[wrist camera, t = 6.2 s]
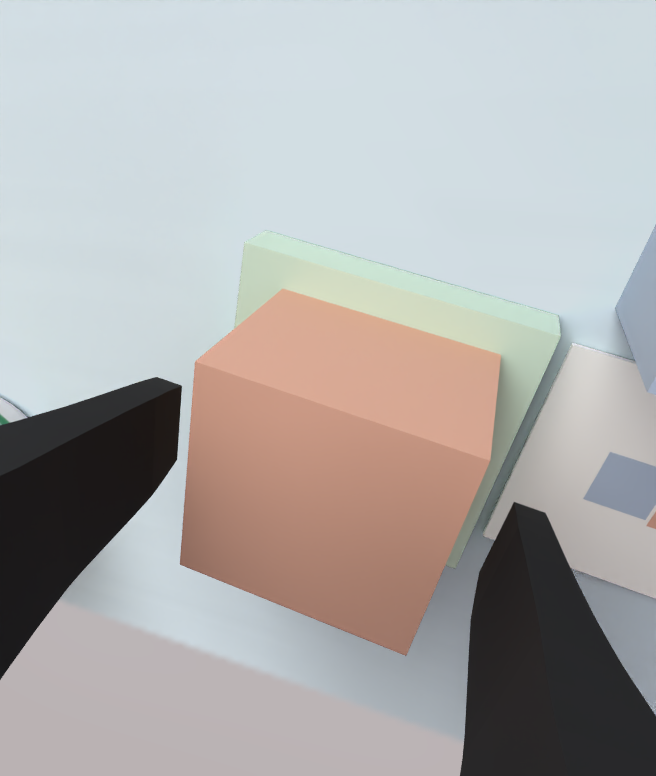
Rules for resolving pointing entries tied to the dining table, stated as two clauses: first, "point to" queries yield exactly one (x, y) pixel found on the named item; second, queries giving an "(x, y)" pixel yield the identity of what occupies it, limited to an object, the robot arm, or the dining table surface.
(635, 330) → the slate brick
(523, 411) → the plate
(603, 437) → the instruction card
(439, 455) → the terracotta brick
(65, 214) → the dining table surface
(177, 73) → the dining table surface
